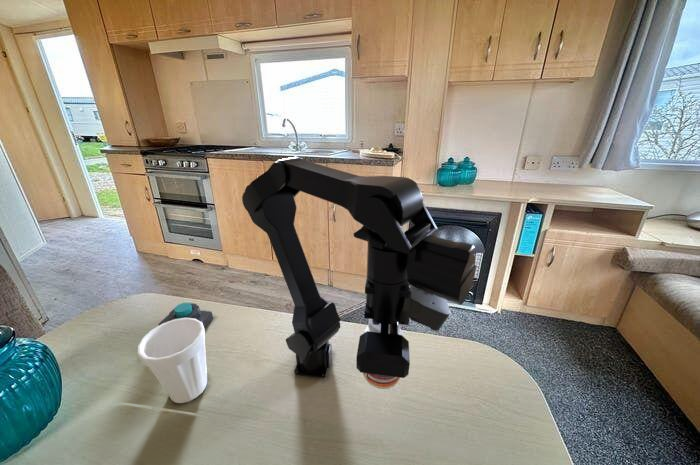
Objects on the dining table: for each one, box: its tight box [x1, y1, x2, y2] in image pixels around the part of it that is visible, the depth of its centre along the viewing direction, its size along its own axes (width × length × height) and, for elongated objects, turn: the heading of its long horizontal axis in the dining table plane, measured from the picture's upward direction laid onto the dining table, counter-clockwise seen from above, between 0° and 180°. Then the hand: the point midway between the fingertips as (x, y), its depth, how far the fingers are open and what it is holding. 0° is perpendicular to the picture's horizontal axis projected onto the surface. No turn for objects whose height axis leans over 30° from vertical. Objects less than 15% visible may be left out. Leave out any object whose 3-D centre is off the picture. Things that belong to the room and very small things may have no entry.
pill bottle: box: [362, 319, 405, 390], centre depth 43 cm, size 6×6×11 cm
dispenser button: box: [173, 302, 193, 318], centre depth 67 cm, size 4×4×2 cm
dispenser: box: [157, 302, 214, 329], centre depth 68 cm, size 10×6×4 cm, turn 82°
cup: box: [136, 318, 208, 404], centre depth 50 cm, size 10×10×13 cm
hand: (382, 357), depth 44 cm, fingers closed on pill bottle, 6 cm apart
